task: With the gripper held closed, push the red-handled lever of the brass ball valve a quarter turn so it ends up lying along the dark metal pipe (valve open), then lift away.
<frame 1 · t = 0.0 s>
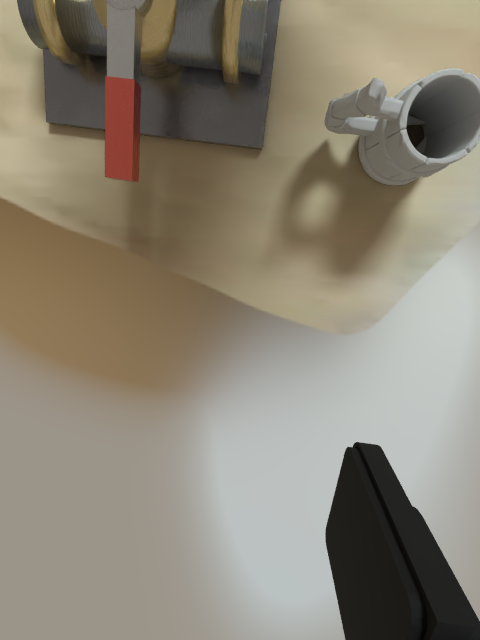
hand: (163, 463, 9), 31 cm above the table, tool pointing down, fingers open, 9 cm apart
lever: (124, 75, 26), point 9 cm above the table, hinge at 0.0°
valve body: (159, 44, 33), on the table
mug: (373, 141, 34), on the table
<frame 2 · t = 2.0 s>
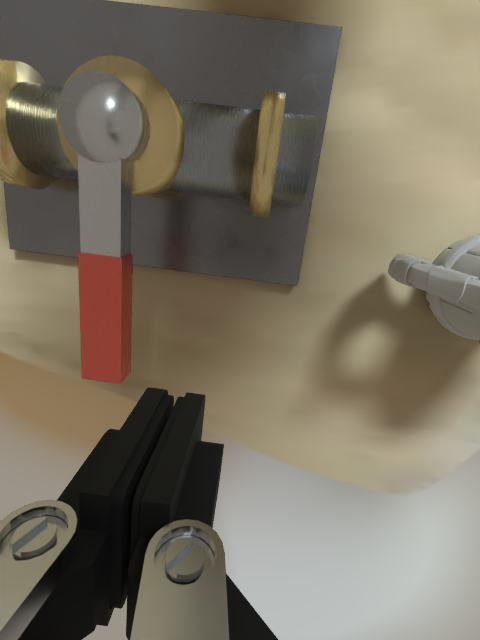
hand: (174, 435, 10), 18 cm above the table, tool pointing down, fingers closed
lever: (106, 245, 17), point 9 cm above the table, hinge at 0.0°
valve body: (160, 152, 24), on the table
mug: (445, 275, 26), on the table
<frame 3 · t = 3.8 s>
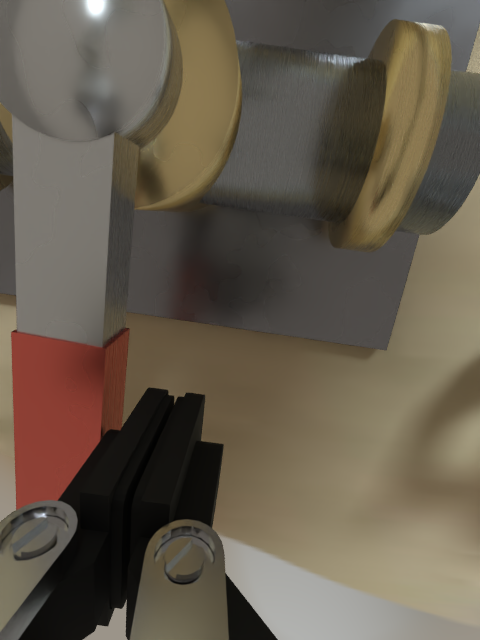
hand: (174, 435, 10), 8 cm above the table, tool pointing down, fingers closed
lever: (76, 314, 8), point 9 cm above the table, hinge at -2.0°, touching gripper
valve body: (181, 141, 15), on the table
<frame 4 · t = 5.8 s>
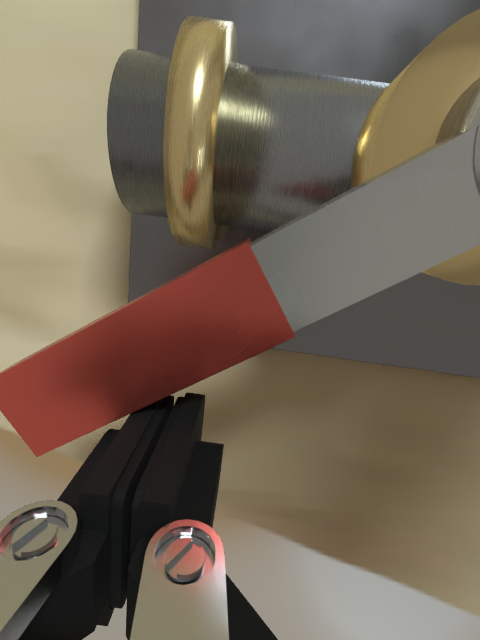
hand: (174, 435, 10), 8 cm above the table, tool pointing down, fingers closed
lever: (287, 275, 8), point 9 cm above the table, hinge at -54.9°, touching gripper
valve body: (386, 186, 15), on the table
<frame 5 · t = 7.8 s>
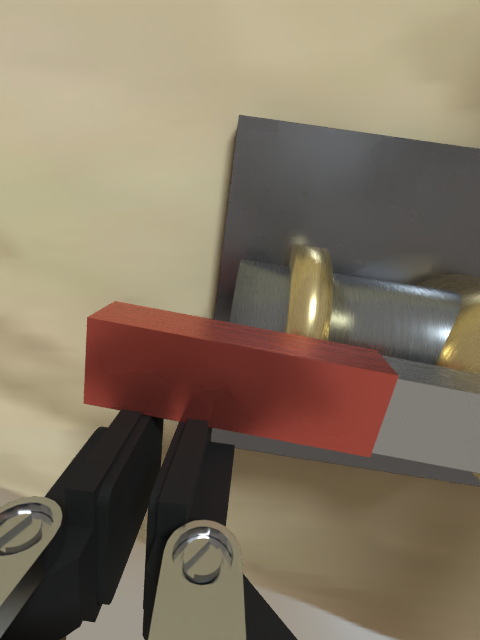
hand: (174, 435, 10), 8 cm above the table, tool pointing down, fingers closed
lever: (388, 403, 9), point 9 cm above the table, hinge at -92.1°, touching gripper
valve body: (436, 331, 17), on the table
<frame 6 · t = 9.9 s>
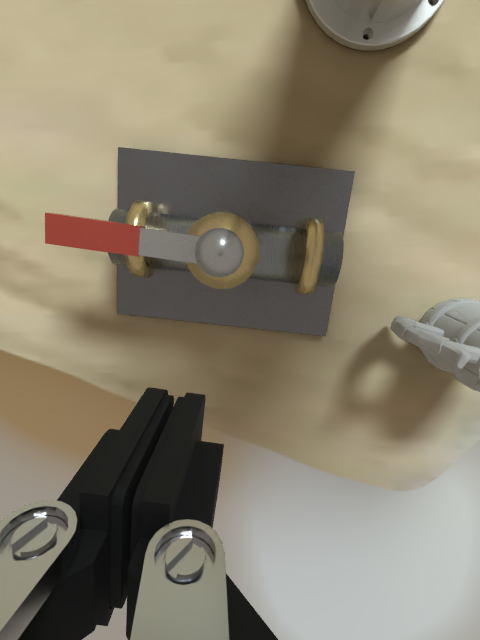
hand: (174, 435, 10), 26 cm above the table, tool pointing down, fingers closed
lever: (147, 242, 26), point 9 cm above the table, hinge at -92.1°
valve body: (228, 246, 34), on the table
mug: (431, 326, 36), on the table
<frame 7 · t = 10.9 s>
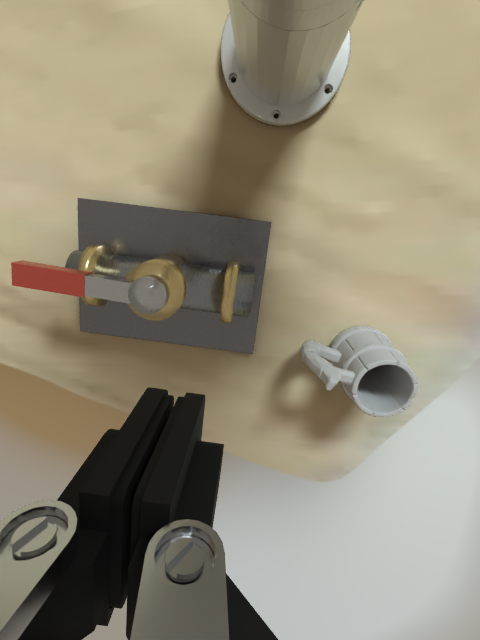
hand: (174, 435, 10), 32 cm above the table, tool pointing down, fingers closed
lever: (92, 285, 33), point 9 cm above the table, hinge at -92.1°
valve body: (171, 278, 41), on the table
mug: (341, 347, 43), on the table
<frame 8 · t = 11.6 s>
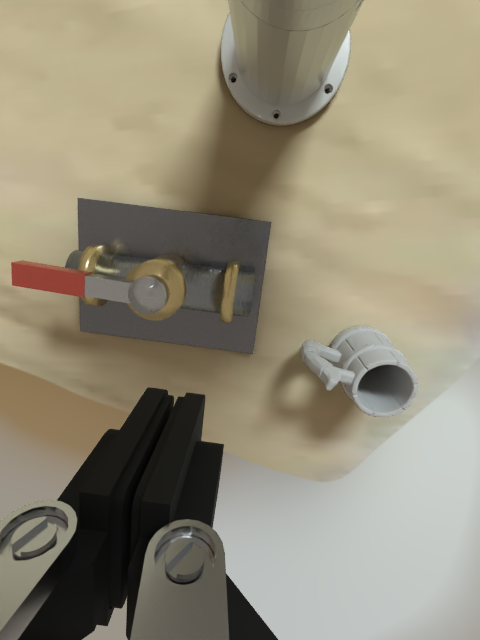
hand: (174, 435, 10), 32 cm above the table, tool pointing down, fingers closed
lever: (92, 285, 33), point 9 cm above the table, hinge at -92.1°
valve body: (171, 278, 41), on the table
mug: (341, 347, 43), on the table
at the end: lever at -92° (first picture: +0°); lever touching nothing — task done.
